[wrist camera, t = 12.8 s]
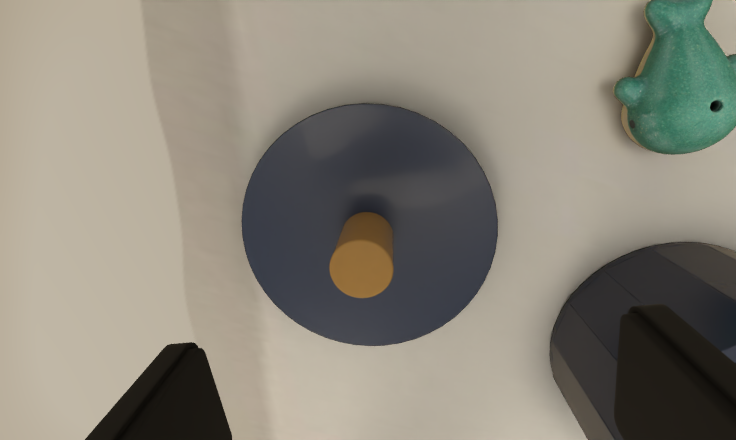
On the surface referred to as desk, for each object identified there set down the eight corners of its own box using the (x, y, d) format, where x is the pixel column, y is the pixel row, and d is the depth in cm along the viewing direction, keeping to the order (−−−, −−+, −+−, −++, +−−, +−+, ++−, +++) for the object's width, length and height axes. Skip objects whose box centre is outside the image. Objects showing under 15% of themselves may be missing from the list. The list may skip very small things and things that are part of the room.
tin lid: (220, 125, 22) (166, 135, 17) (484, 82, 21) (515, 78, 16) (277, 346, 27) (248, 409, 21) (500, 324, 25) (529, 386, 20)
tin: (547, 256, 24) (626, 342, 16) (800, 227, 22) (1031, 305, 14) (551, 436, 28) (616, 579, 20) (766, 422, 26) (932, 570, 18)
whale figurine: (601, 158, 22) (642, 171, 18) (600, 10, 20) (646, -8, 16) (717, 139, 21) (784, 149, 17) (729, -16, 19) (807, -41, 15)
